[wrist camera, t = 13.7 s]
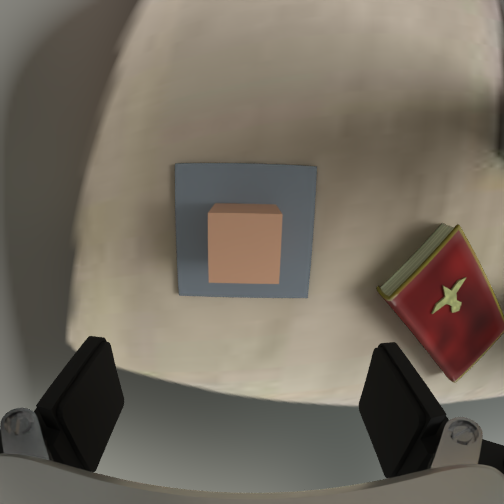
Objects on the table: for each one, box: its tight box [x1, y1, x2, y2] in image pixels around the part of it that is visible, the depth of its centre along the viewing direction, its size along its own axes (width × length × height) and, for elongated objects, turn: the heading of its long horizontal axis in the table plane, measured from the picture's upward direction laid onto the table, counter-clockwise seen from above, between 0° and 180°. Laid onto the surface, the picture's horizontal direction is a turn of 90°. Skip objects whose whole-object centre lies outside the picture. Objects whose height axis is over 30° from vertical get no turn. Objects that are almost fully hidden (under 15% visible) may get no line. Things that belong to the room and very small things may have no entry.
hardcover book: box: [377, 223, 504, 383], centre depth 34 cm, size 12×21×4 cm, turn 45°
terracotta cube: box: [208, 203, 283, 284], centre depth 29 cm, size 6×6×6 cm
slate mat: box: [175, 163, 317, 298], centre depth 32 cm, size 14×14×1 cm
